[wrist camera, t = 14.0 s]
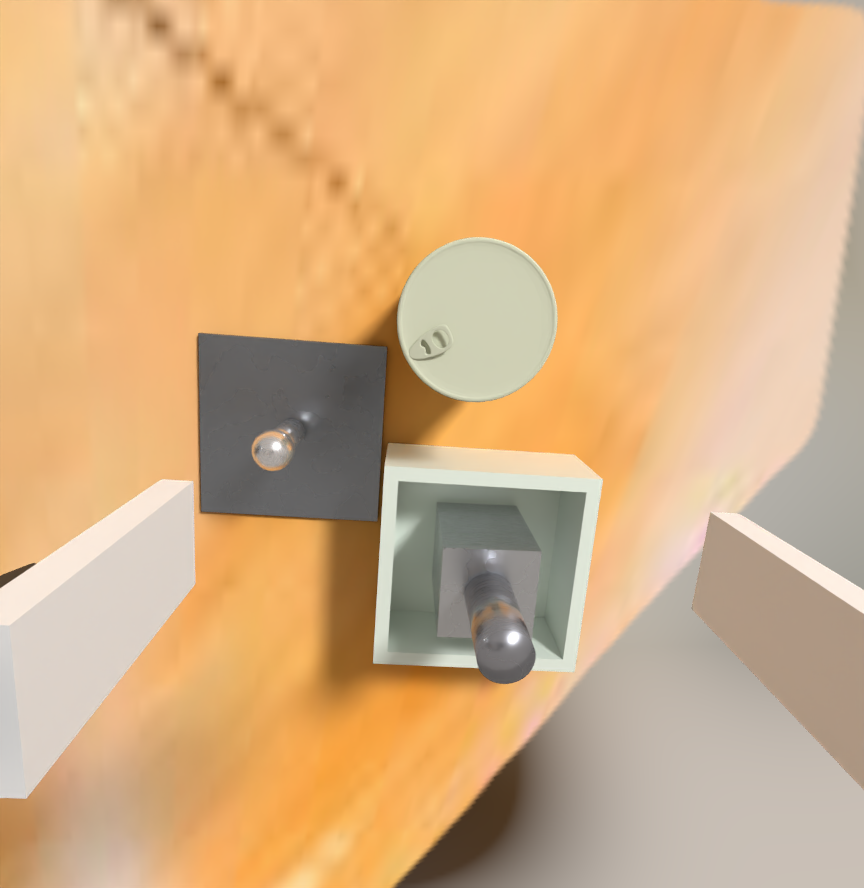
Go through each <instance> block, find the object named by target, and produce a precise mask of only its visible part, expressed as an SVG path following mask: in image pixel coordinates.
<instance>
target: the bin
mask: <svg viewBox="0 0 864 888" xmlns="http://www.w3.org/2000/svg"><path fill="white" fill-rule="evenodd" d="M602 482H603V479H602V478H601V477H599V476H598V475H597V474H596V473H595V472H594V471H593V470H591V469H590V468H589V467H588V466H587V465H586V464H584V463H583V462H582V461H581V460H580V459H579V458H578V457H576V456H575V455H572V454H556V453H541V452H525V451H510V450H494V449H478V448H463V447H447V446H432V445H416V444H401V443H388V447H387V453H386V460H385V466H384V483H383V500H382V517H381V534H380V551H379V568H378V585H377V602H376V620H375V637H374V654H373V664H396V665H419V666H442V667H465V668H478V665H477V660H476V655H475V650H474V645H473V640H472V638H455V637H437V630H436V618H435V607H434V595H433V583H432V567H433V552H434V537H435V522H436V507H437V502H446V503H468V504H489V505H511V506H517V508H518V510H519V511H520V513H521V515H522V517H523V519H524V520H525V522H526V524H527V526H528V528H529V530H530V531H531V533H532V535H533V537H534V539H535V540H536V542H537V544H538V546H539V548H540V549H541V551H542V554H541V563H540V571H539V580H538V589H537V598H536V607H535V616H534V625H533V634H532V643H533V646H534V648H535V653H536V659H535V663H534V666H533V668H532V670H535V671H558V672H575V665H576V658H577V652H578V645H579V638H580V631H581V625H582V618H583V611H584V604H585V597H586V591H587V584H588V577H589V570H590V564H591V557H592V550H593V543H594V536H595V530H596V523H597V516H598V509H599V503H600V496H601V489H602Z"/></svg>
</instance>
